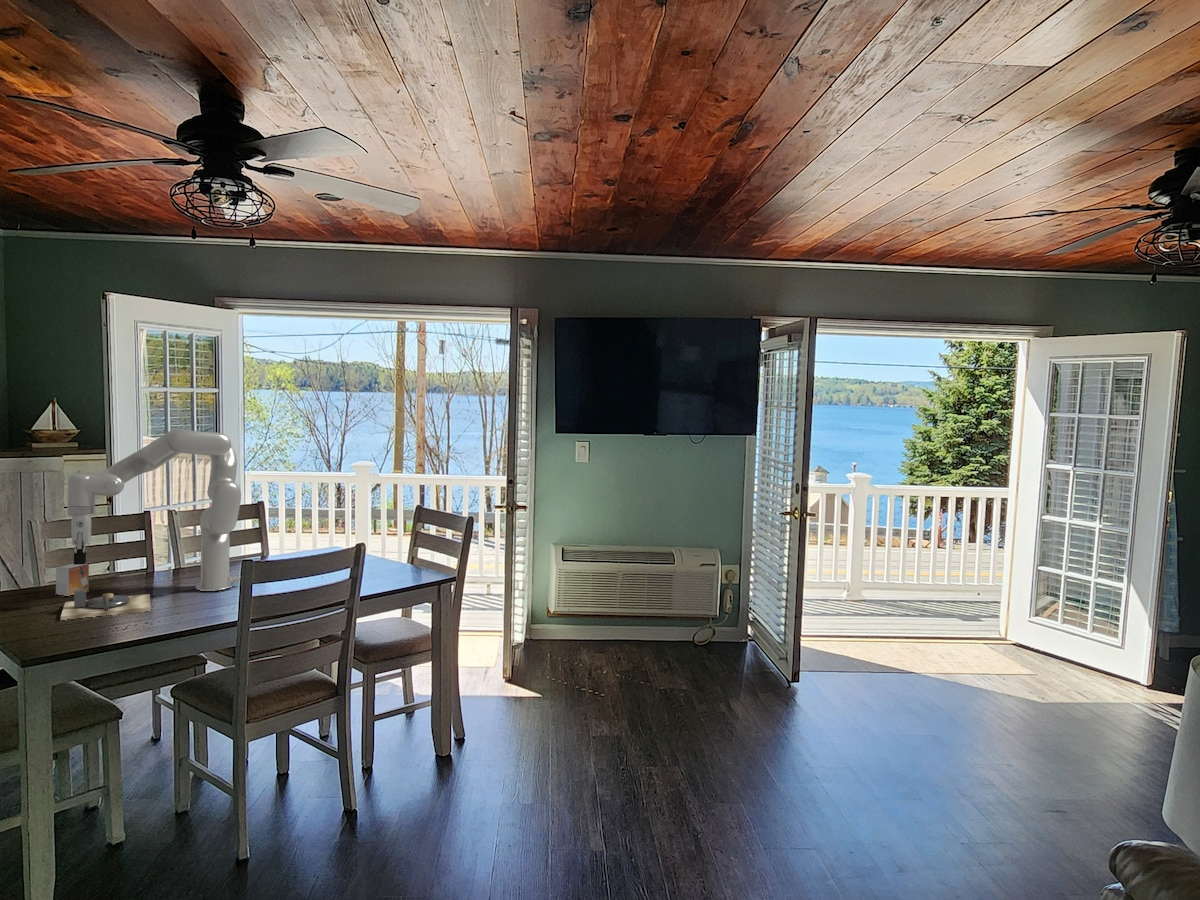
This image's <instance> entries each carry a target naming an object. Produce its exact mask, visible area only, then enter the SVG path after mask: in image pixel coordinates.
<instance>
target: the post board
mask: <svg viewBox="0 0 1200 900" xmlns="http://www.w3.org/2000/svg"><path fill="white" fill-rule="evenodd" d="M113 595H114V593H112V592H107V593H103V594H102V596H101V597H102V600H103V601H104V608H89V607H87V606H84V607H74V600H73V601H65V602H64V605H63V608H62V611H61V615H60V621H61V620H65V621H68V620H67V619H75V620H77V619H76V618H84V619H86V618H85V617H93V618H97V617H96V616H103V617H109V616H108V615H112V616H119V615H118V614H121V615H129V613H131V614H137V613H138V612H140V613H146V612H145V611H149V612H151V611H152V610H151V609H152V607H151V606H152V605H151V594H150V593H146V594H136V595H134V594H133V595H127V596H128V597H129V602H128V603H126V604H124V605H120V606H116V607H109V608H108V601H109V600H113ZM88 600H89V599H86V601H88ZM138 614H139V613H138ZM106 615H107V616H106Z"/></svg>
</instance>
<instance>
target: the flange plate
mask: <svg viewBox="0 0 1200 900" xmlns="http://www.w3.org/2000/svg"><path fill="white" fill-rule="evenodd" d="M128 596H129V595H120V594H113V600H109V601H108V608H109V607H116V606H120V605H124V604H126V603H128V602H129V597H128ZM73 599H74V600H73V601H74V607H84V606H87V607H89V608H104V601H103V600H102V596H98V597H93V598H89V599H87V593H86V589H85V590H75V592H74V596H73ZM86 600H88V601H86Z"/></svg>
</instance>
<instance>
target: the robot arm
mask: <svg viewBox="0 0 1200 900" xmlns="http://www.w3.org/2000/svg"><path fill="white" fill-rule="evenodd" d="M181 454H190V455H202V456H210V461H211V468H210V470H211V471H210V477H209V481H208V486H207V491H206V492H207V497H208V498H209V500H211V506H209V507H207V508H206V509H204V510H203V511H202V512H201V515H200V518H199V529H200V543H201V544H200V545H201V546H200V547H201V549H200V584H198V585H196V586H195V590H196V589H197V590H200V591H215V590H222V589H226V588H229V587H232V586H233V585H234V583H240V582H239V580H240V577H241V576H231V574H230V547H231V546H230V544H231V543H230V538H231V537H230V533H232V532H233V530H234V529H235V528H236V526H237V523H238V518H239V512H240V506H241V500H242V491H241V488H240V486H239V484H237V482H236V478H237V477H236V476H237V469H238V459H237V453H236V452H235V450H234V447H233V446H232V441H231V439H230V437H229V436H228V435H226V434H225V433H221V432H217V431H208V432H207V431H198V430H190V429H186V428H181V427H180V428H178V427H177V428H173V429H171V430H169V431H168V432H166V433H165V434H163V435H162V436H160V437H158V438H156V439H155V440H154V441H151V442H150V443H149V444H146V445H145V446H144V447H142V448H141V449H139V450H137V451H135V452H134V453H132V454H130V455H129V456H126V457H125V458H122V459H120V460H119V461H117V462H115V464H112V465H111V466H109V467H108V468H106V469H104V470H103V471H101V472H100V473H99V474H97V475H93V474H92V473H91V474H89V473H75V474H74V473H73V474H70V476H68V480H67V482H68V483H67V506H66V507H67V509H66V510H67V512H66V513H67V517H68V516H69V517H71V523H70V524H71V529H70V530H71V545H73V546H74V551H73V564H74V565H78V564H87V551H86V546H87V545H90V544H91V542H92V516H94V515H96V496H103V497H113V496H118V495H119V494H120V493H121V492H122V491H123V490H124V488H125V484H126V483H127V482H129V481H131V480H132V479H134V478H136V477H138V476H139V475H143V474H145V473H150V472H153V471H155V470H157V469H159V468H160V467H162V466H163V465H165V464H166V463H168V462H169V461H171V460H172V459H174V458H175V457H177V456H179V455H181ZM233 587H234V586H233ZM197 590H196V591H197ZM200 591H199V592H200Z"/></svg>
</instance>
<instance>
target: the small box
mask: <svg viewBox="0 0 1200 900" xmlns="http://www.w3.org/2000/svg"><path fill="white" fill-rule="evenodd" d="M55 569H56V570H55V595H56V594H58V595H64V596H70V595H74V592H75V590H85V589H86V592H87V591H88V592H89V591H90V590H89V586H90V584H89V583H90V582H89V580H90V579H89V577H90V576H89V575H90V565H89V563H85V564H78V565H74V563H70V564H67V565H60V566H56V567H55ZM88 592H87V593H88ZM64 596H63V597H64ZM70 597H71V596H70Z"/></svg>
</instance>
